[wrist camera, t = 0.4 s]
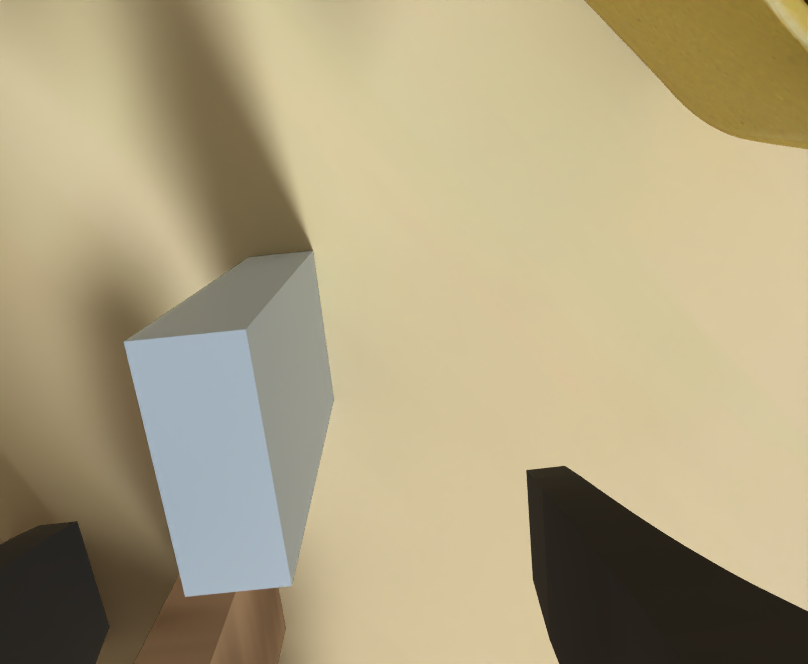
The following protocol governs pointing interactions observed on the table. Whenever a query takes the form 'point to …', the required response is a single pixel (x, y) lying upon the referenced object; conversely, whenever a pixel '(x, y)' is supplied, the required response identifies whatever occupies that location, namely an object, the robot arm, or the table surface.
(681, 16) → the flower pot
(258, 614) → the domino
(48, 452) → the table surface
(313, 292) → the blue domino
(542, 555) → the robot arm
